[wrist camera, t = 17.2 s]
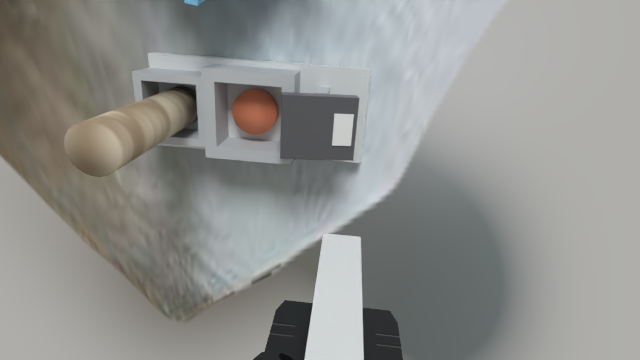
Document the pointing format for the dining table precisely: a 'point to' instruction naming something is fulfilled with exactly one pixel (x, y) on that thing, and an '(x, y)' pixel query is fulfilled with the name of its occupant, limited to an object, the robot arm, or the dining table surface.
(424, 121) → the dining table surface
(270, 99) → the orange round button
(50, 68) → the dining table surface
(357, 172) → the dining table surface
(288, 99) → the plate
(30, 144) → the dining table surface
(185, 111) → the tan banded rod
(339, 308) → the robot arm
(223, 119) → the grey slotted holder
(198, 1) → the teapot
